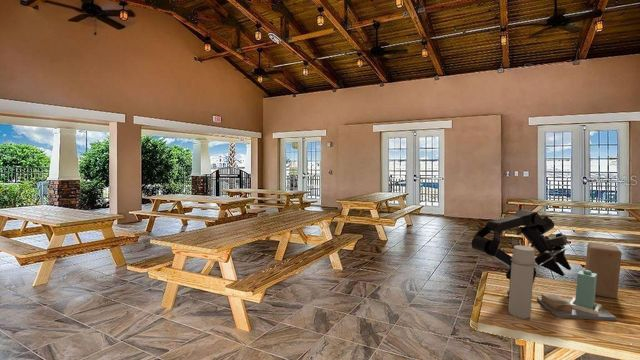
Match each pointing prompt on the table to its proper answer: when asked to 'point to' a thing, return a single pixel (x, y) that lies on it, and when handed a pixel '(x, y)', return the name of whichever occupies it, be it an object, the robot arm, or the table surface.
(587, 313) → the baseboard
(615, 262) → the wooden block
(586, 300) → the teal post
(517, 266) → the water bottle
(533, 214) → the robot arm
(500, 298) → the table surface
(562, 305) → the walnut base slab
